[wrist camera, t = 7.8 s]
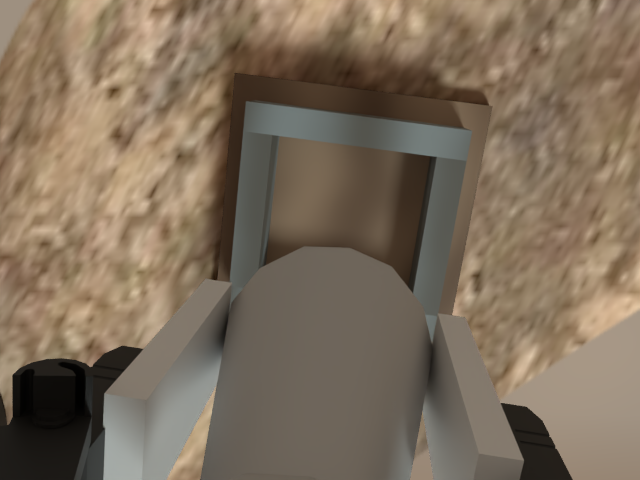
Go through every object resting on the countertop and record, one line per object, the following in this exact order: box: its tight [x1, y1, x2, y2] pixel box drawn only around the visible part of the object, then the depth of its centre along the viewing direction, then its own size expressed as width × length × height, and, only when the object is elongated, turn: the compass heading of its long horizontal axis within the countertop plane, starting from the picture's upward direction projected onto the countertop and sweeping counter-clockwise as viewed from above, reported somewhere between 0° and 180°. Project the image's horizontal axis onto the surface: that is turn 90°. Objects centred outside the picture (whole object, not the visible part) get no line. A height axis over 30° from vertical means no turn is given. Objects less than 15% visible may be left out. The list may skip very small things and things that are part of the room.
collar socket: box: [217, 73, 492, 342], centre depth 33 cm, size 14×14×4 cm
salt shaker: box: [200, 246, 433, 480], centre depth 13 cm, size 6×6×13 cm
